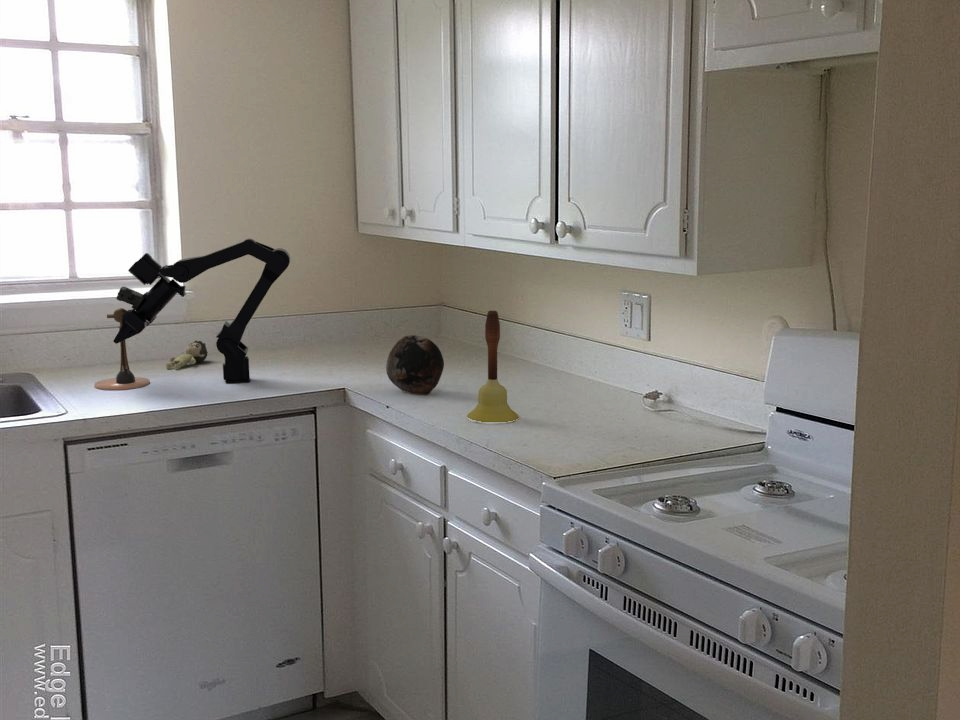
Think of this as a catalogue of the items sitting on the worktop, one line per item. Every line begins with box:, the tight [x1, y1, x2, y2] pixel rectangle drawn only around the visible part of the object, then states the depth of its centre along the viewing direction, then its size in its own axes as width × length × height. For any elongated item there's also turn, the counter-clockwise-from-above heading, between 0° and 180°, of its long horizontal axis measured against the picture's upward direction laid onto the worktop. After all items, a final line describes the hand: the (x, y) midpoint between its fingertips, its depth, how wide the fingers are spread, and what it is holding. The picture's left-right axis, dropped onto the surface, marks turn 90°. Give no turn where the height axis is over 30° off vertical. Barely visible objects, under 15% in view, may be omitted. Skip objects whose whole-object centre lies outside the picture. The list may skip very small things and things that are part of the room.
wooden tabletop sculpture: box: [106, 307, 136, 384], centre depth 275 cm, size 6×5×20 cm
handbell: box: [466, 310, 520, 422], centre depth 237 cm, size 12×12×25 cm
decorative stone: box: [385, 334, 445, 395], centre depth 265 cm, size 18×9×15 cm, turn 53°
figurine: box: [165, 340, 208, 371], centre depth 302 cm, size 8×6×15 cm
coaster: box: [94, 376, 150, 391], centre depth 277 cm, size 14×14×1 cm
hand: (118, 339), depth 275 cm, fingers open, 9 cm apart
